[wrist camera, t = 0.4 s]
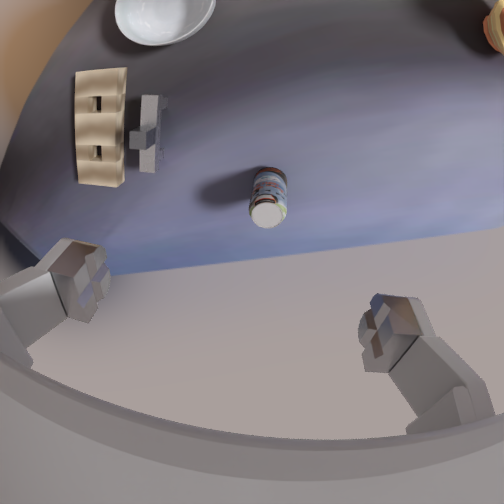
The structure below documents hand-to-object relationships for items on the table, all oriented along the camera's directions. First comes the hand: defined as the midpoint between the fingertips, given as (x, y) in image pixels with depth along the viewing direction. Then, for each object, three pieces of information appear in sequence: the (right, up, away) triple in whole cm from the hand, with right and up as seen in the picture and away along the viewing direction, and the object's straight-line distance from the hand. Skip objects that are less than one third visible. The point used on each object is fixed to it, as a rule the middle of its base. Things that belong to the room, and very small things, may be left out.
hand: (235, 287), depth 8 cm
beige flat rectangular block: (-29, +26, +40) cm, 56 cm away
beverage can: (+4, +14, +46) cm, 48 cm away
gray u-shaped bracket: (-17, +24, +40) cm, 50 cm away
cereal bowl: (-13, +44, +27) cm, 53 cm away
